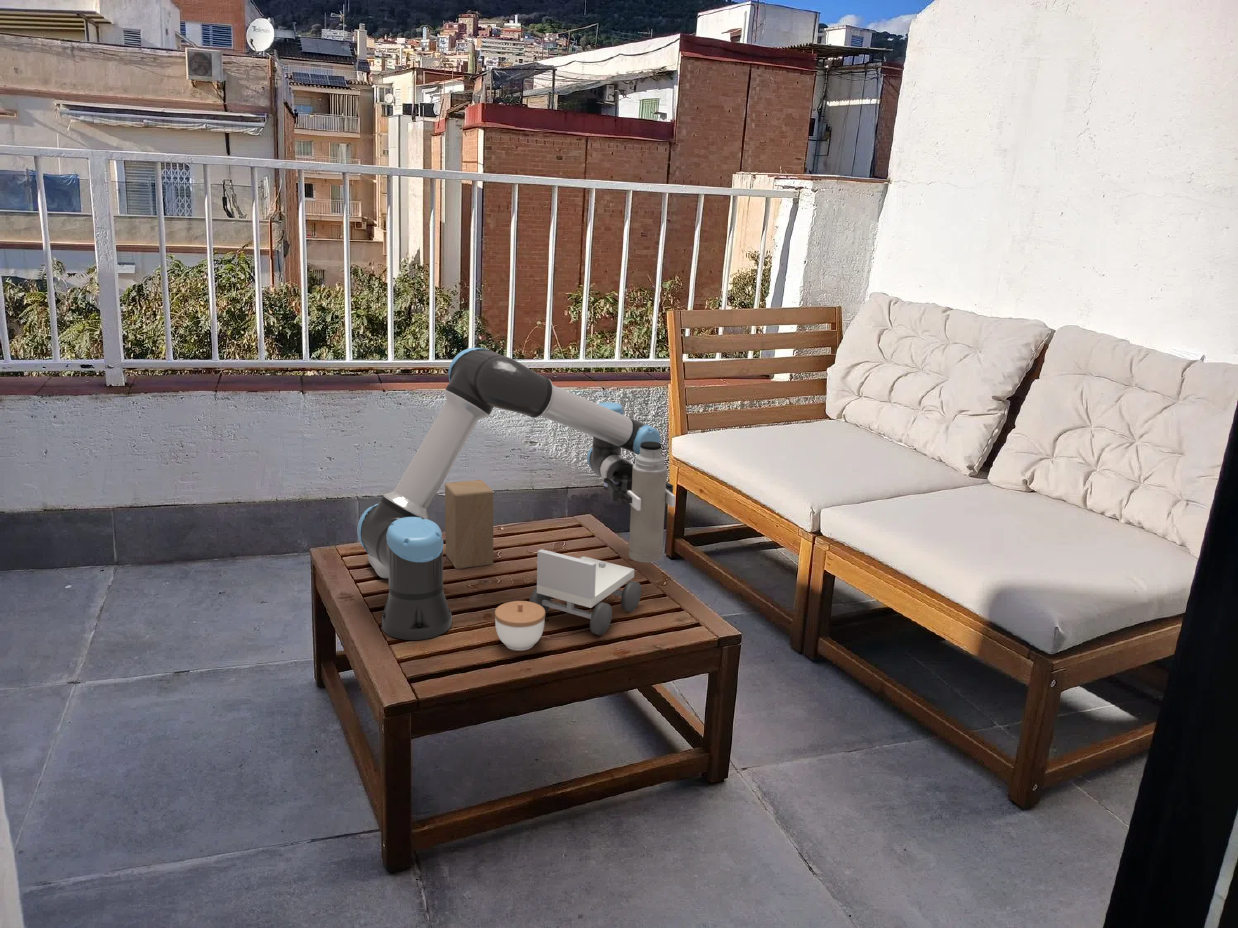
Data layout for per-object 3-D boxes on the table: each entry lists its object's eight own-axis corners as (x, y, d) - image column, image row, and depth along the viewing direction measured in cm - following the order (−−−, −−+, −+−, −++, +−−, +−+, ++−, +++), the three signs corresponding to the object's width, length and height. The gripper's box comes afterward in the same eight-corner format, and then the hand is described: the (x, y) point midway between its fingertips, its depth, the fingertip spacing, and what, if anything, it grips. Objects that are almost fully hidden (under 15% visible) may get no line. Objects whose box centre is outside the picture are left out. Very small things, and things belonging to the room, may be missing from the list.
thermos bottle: (627, 549, 237) (632, 438, 229) (660, 549, 237) (666, 439, 229) (629, 562, 229) (634, 447, 221) (663, 562, 230) (669, 448, 221)
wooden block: (445, 555, 255) (444, 482, 249) (482, 550, 259) (482, 478, 253) (455, 569, 246) (454, 494, 240) (493, 564, 250) (493, 490, 244)
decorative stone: (359, 550, 249) (381, 518, 248) (392, 566, 254) (413, 535, 253) (369, 581, 234) (393, 548, 233) (404, 598, 239) (427, 565, 238)
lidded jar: (484, 645, 208) (484, 605, 206) (516, 628, 217) (517, 589, 214) (523, 661, 203) (523, 620, 200) (554, 642, 211) (555, 602, 208)
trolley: (595, 640, 213) (598, 568, 208) (528, 620, 221) (529, 550, 216) (640, 605, 230) (643, 538, 225) (576, 588, 238) (578, 522, 233)
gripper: (657, 484, 249) (696, 514, 229) (580, 491, 242) (613, 522, 222) (658, 456, 247) (698, 484, 227) (581, 462, 240) (615, 491, 220)
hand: (656, 503), depth 225 cm, fingers closed on thermos bottle, 8 cm apart
